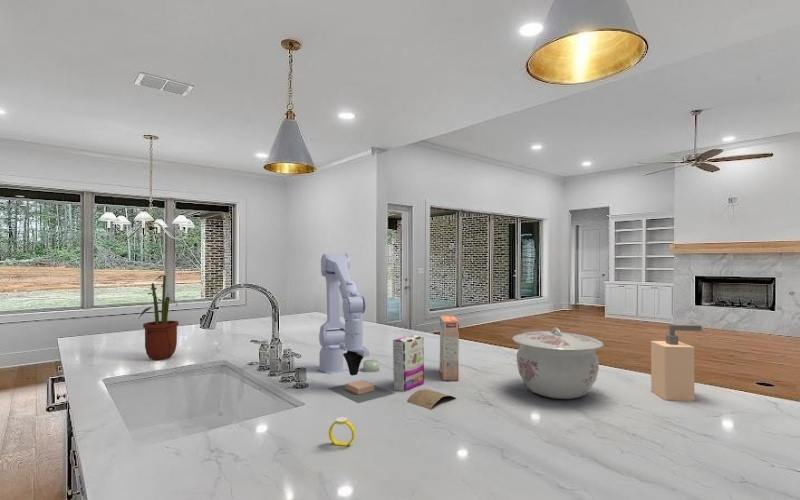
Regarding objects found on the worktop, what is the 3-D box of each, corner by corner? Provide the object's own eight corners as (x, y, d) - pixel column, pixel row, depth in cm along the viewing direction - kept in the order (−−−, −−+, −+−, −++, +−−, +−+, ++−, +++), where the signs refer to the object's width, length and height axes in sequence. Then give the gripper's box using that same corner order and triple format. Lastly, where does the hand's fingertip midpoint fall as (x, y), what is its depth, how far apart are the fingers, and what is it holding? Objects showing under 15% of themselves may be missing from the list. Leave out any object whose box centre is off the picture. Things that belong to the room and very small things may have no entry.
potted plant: (185, 357, 185) (185, 274, 185) (147, 365, 172) (147, 276, 172) (162, 352, 194) (162, 273, 194) (124, 359, 181) (125, 275, 181)
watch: (328, 447, 100) (326, 421, 100) (332, 442, 103) (330, 416, 103) (353, 447, 99) (351, 421, 99) (356, 442, 102) (355, 416, 102)
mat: (327, 389, 142) (327, 388, 142) (362, 381, 151) (362, 380, 151) (358, 404, 128) (358, 403, 128) (395, 394, 137) (395, 393, 137)
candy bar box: (412, 381, 150) (412, 334, 150) (424, 384, 147) (424, 335, 147) (392, 389, 141) (392, 339, 141) (404, 392, 138) (404, 341, 138)
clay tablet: (430, 412, 123) (430, 402, 123) (403, 404, 129) (402, 395, 129) (458, 399, 133) (458, 391, 134) (432, 392, 140) (432, 384, 140)
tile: (346, 383, 140) (358, 388, 135) (361, 380, 144) (373, 385, 139) (346, 389, 140) (358, 395, 135) (361, 385, 144) (373, 391, 139)
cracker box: (459, 381, 150) (459, 320, 151) (442, 381, 151) (442, 320, 151) (455, 370, 164) (455, 315, 165) (439, 370, 165) (439, 315, 165)
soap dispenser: (665, 400, 131) (664, 327, 131) (650, 391, 140) (650, 322, 140) (709, 401, 130) (709, 327, 130) (692, 392, 139) (692, 323, 139)
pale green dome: (360, 370, 164) (360, 361, 164) (373, 368, 168) (373, 359, 168) (369, 374, 160) (369, 364, 160) (382, 371, 163) (382, 362, 163)
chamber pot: (575, 415, 119) (574, 339, 119) (494, 390, 140) (494, 326, 141) (621, 394, 137) (620, 328, 137) (543, 375, 158) (543, 318, 158)
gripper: (331, 331, 146) (331, 372, 145) (355, 337, 134) (355, 382, 134) (349, 328, 150) (349, 368, 150) (374, 335, 139) (374, 377, 139)
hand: (353, 374), depth 142 cm, fingers closed
